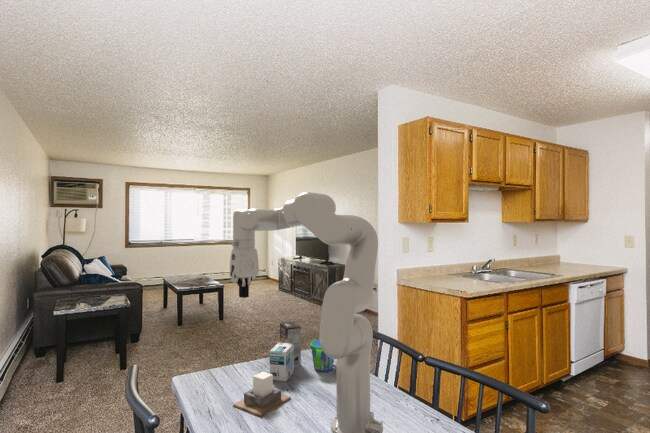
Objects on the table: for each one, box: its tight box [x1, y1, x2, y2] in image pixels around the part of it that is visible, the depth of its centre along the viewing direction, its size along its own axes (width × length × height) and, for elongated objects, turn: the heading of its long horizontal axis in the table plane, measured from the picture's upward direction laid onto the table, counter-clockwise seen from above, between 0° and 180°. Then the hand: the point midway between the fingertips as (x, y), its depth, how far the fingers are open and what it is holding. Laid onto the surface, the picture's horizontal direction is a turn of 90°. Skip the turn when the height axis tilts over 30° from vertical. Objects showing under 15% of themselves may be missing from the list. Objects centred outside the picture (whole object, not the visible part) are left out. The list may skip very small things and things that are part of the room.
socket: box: [233, 387, 292, 418], centre depth 117 cm, size 12×14×3 cm
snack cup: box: [309, 338, 335, 373], centre depth 145 cm, size 16×11×10 cm
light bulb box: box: [269, 342, 295, 382], centre depth 139 cm, size 11×7×11 cm, turn 168°
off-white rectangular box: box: [252, 371, 274, 398], centre depth 117 cm, size 4×4×8 cm
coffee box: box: [279, 321, 302, 368], centre depth 151 cm, size 9×6×16 cm
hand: (243, 297), depth 127 cm, fingers closed
